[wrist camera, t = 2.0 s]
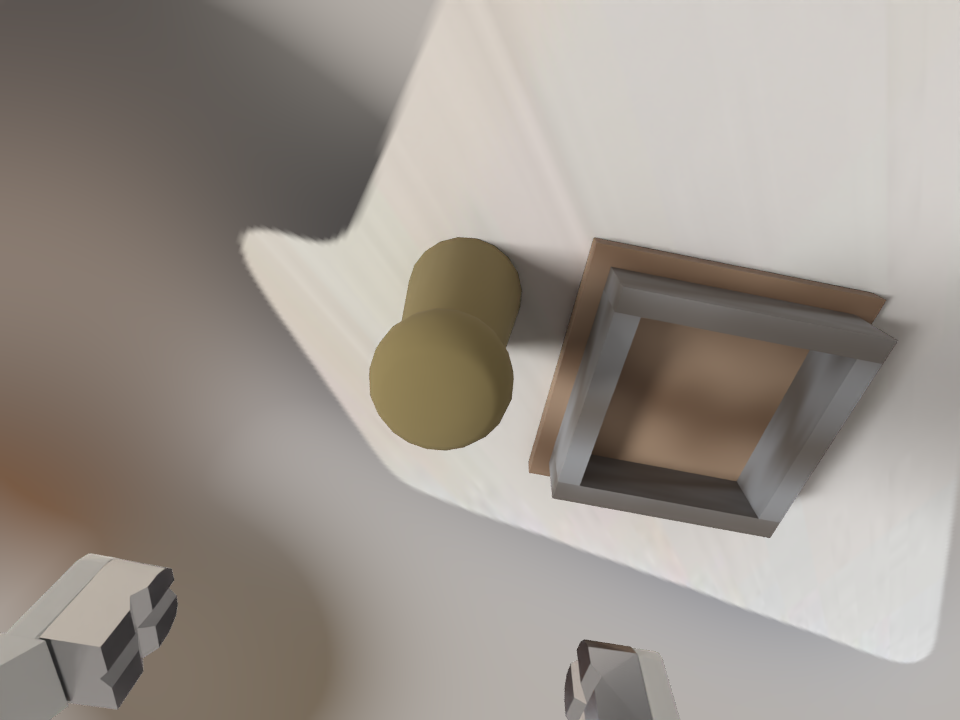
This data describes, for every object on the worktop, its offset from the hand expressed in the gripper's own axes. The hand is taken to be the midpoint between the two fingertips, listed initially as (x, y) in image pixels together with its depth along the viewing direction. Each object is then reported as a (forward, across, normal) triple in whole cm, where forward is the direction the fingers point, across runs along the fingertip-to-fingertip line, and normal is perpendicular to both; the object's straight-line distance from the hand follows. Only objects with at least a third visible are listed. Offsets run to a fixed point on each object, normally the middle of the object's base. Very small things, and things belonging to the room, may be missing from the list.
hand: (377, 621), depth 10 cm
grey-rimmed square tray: (+18, -13, +2) cm, 23 cm away
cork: (+19, 0, -1) cm, 19 cm away
